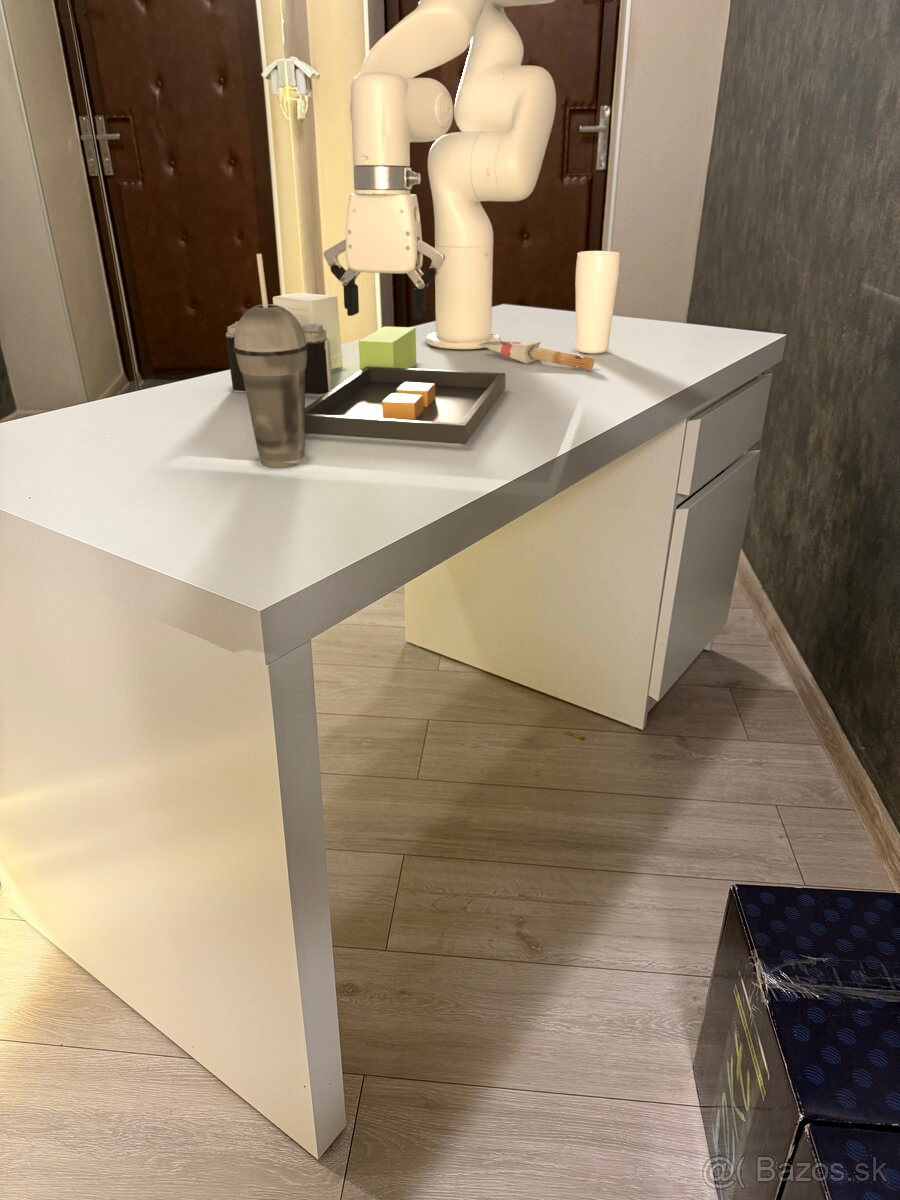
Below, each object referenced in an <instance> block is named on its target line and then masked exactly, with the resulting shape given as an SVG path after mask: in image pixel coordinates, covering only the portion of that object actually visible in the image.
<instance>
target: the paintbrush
mask: <svg viewBox="0 0 900 1200" xmlns="http://www.w3.org/2000/svg"><path fill="white" fill-rule="evenodd" d="M541 343H542V341H500V342H485V343H481V344H479V345H481V346H484V347H486V348H485V349H489V350H491V351H494V352H496V353H499V354H501V355H503V356H506V357H509V358H511V359H513V360H516V361H519V362H521V363H523V364H530V363H533V362H536V361H542V362H547V363H552V364H558V365H561V366H566V367H571V368H576V367H578V368H579V369H582V370H585V371H592V370H593V368H594V366H595V359H594V358H593V357H589V356H584V357H583V356H582V357H581V356H580V355H578V354H574V353H568V352H561V351H558V350H553V349H548V348H542V347H540V345H541Z"/></svg>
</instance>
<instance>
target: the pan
mask: <svg viewBox="0 0 900 1200" xmlns="http://www.w3.org/2000/svg"><path fill="white" fill-rule="evenodd" d="M506 375H507V374H506V373H505V372H490V371H472V370H471V371H469V370H451V369H450V370H449V369H429V368H413V367H408V368H392V367H372V366H366V367H365V368H363V369H362V370H359V371H357V372H355V373H354V374H353V375H351V376H350V377H348V378H347V379H345V380H344V381H342V382H341V383H339V384H338V385H337V386H335V387H334V388H333V389H332V390H331V391H329V392H327V393H324V394H322V396H321V397H319V398H317V399H316V400H314V401H313V402H311V403H310V404H308V405H307V406H305V434H309V435H310V434H311V435H324V436H325V435H326V436H327V435H328V436H339V437H340V436H342V437H354V438H355V437H357V438H369V439H384V440H399V441H400V440H401V441H411V442H412V441H414V442H427V443H443V444H455V445H456V444H457V445H466V444H467V443H468V441H469V440H470V438H471V437H472V436H473V434H474V433H475V431H476V430H477V429H478V427H479V425H480V424H481V423H482V422H483V420H484V419H485V417H486V416H487V415H488V413H489V412H490V410H491V409H492V407H494V405H495V404H496V402H497V401H498V399H499V398H500V397H501V395H502V394H503V393H504V391H505V389H506ZM405 382H414V383H433V384H435V400H434V401H433V402H432V403H431V404H430V405H429V406H428V407H423V412H422V413H421V414H420V415H419V416H418V417H417V418H416V419H415V420H409V419H393V418H383V414H382V401H383V400H384V399H385V398H387V397H388V396H389V395H390V394H391V393H396V389H397V388H399V387H400V386H401V385H402V384H403V383H405ZM396 394H397V393H396Z"/></svg>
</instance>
